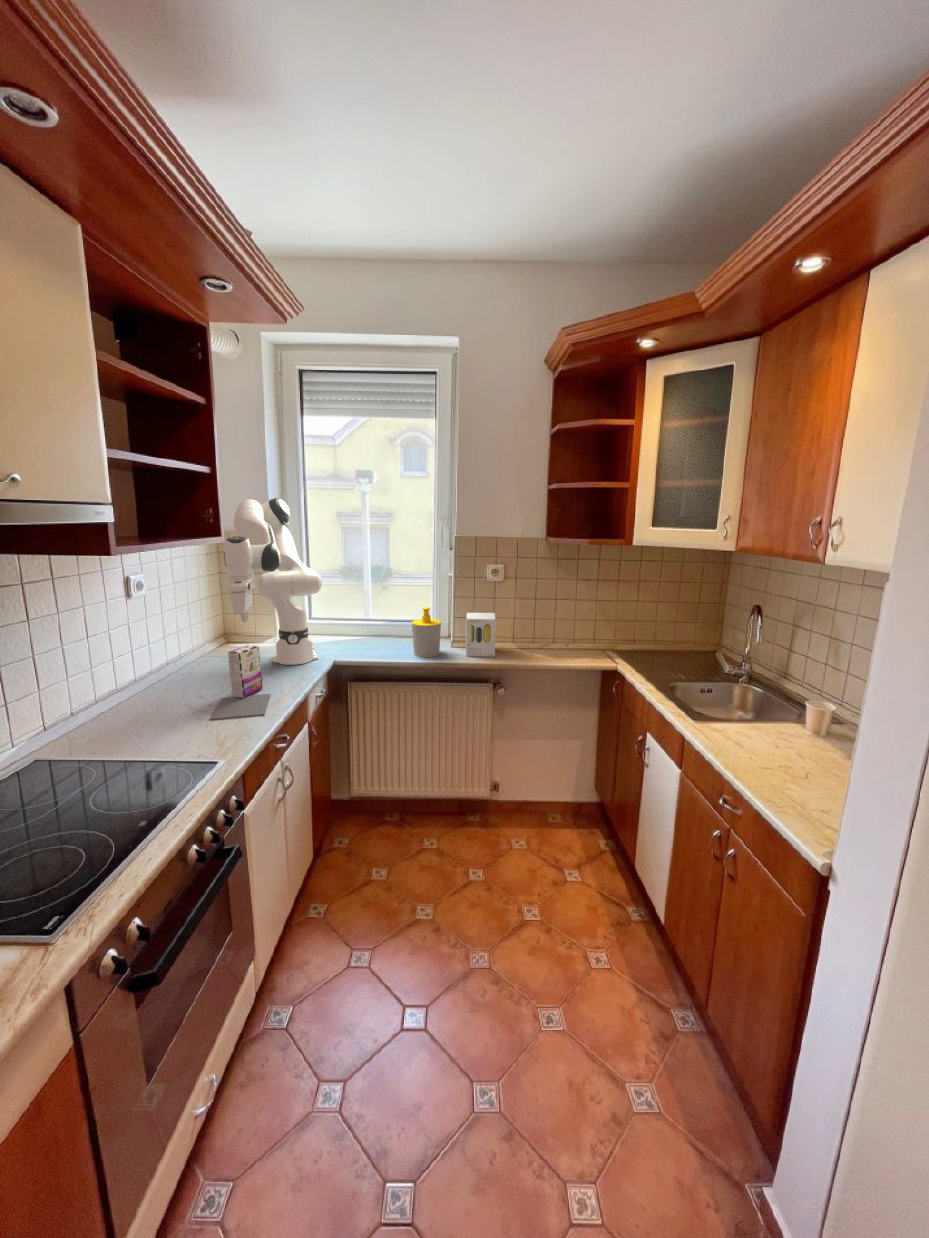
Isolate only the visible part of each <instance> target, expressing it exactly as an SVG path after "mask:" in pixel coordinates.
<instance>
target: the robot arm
mask: <svg viewBox="0 0 929 1238" xmlns="http://www.w3.org/2000/svg"><path fill="white" fill-rule="evenodd" d="M290 518H291V511H290V508H289V506H288V505H287V503H286V502H285V500H283V499H282V498H280V497H275V498H271V499H269V500H268V501H266V502H263V503H262V504H261V503H260V502H258V501H257V500H256V499H251V498H247V499H243V500H242V501H241V502H240V503H239V504H238V506H237V508H236V510H235V513H234V518H233V527H234V530H235V531H236V534H238V535H239V536H230V537H228V538H226V539H225V543H224V544H225V545H224V553H223V558H224V559H223V561H224V565H225V566H226V567H227V568H226V569H227V572H226V579H227V580H226V581H227V593H229V596H230V597H229V598H230V603H231V604H230V605H231V607H232V612H233V614H234V615H240V619H241V620H240V621H241V623H247V622H248V620H249V608H250V607H251V606H252V605H253V602H254V601H253V592H252V591H253V590H252V589H254V588H257V591H258V592H259V595H261V596H262V597H263V598H265V599H266V600H268V601H269V602H270V603H271V604H272V605H273V607H274V608H275V610H276V613H277V617H278V624H279V625H278V626H279V629H278V638H279V639H278V640H277V642H275V652H276V655H275V656H274V658H272V660H271V661H272V663H277V664H280V665H287V666H291V665H292V666H295V665H302V664H306V663H309V662H312V661H315V660H318V659H319V655H318V654H317V653H316V651H315V650H314V649H315V648H314V647H313V640H312V639H311V638H309V628H308V625H307V624H308V623H307V612H306V610H305V608H304V607H302V606H301V605H299V604H297V603H294V602H291V599H290V598H292V597H293V598H294V597H303V596H305V597H307V596H312V595H314V594H317V593H319V592H320V591H321V588H322V586H323V585H322V584H323V583H322V582H323V580H322V577H321V575H320V574H319V573H318V571H316V570H314V569H313V568H312V569H311V568H309V567H308V566H307V565H305V564H304V563H303V562H302V560H301V559H300V558H299V554H298V551H297V548H296V544H295V541H294V538H293V536H292V534H291V532H290V530H289V529H288V528H287V527H286V526H289V525H290ZM250 540H252V541H260V542H263V543H264V544H250V542H251V541H250ZM276 570H277V571H276ZM255 572H265V573H261V574H260V575H259V576H258V579H257V580H256V582H255Z"/></svg>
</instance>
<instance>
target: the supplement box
mask: <svg viewBox="0 0 929 1238" xmlns="http://www.w3.org/2000/svg"><path fill="white" fill-rule="evenodd" d="M465 620H466V623H465V657H483V658H485V657H488V658H489V657H496V614H495V612H466V619H465Z"/></svg>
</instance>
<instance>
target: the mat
mask: <svg viewBox="0 0 929 1238" xmlns="http://www.w3.org/2000/svg"><path fill="white" fill-rule="evenodd" d="M270 697H271V693H264V694H263V693H262V694H261V693H260V694H251V695H249V696H247V697H245V698H235V697H233V696H227V697H226V696H225V697H220V699H219V701H218V703H217V705H216V707H215V708H214V711H213V712H212V714H211V716H210V717H209V721H219V720H227V719H236V718H247V717H260V716H265V713H266V711H267V708H268V704H269V701H270Z"/></svg>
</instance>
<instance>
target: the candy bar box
mask: <svg viewBox="0 0 929 1238" xmlns="http://www.w3.org/2000/svg"><path fill="white" fill-rule="evenodd" d="M227 657H228V658H227V659H228V665H229V675H230V676H229V677H230V684H231V695H232V697H235V698H245V697H247V696H249V695H254V694H255V693H256V692H258V691H260V690H263V679H262V670H261V669H262V668H261V659H260V647H259V644H246V645H243V646H241V647H238V648H236V649H233V650H230V651H228V652H227Z"/></svg>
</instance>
